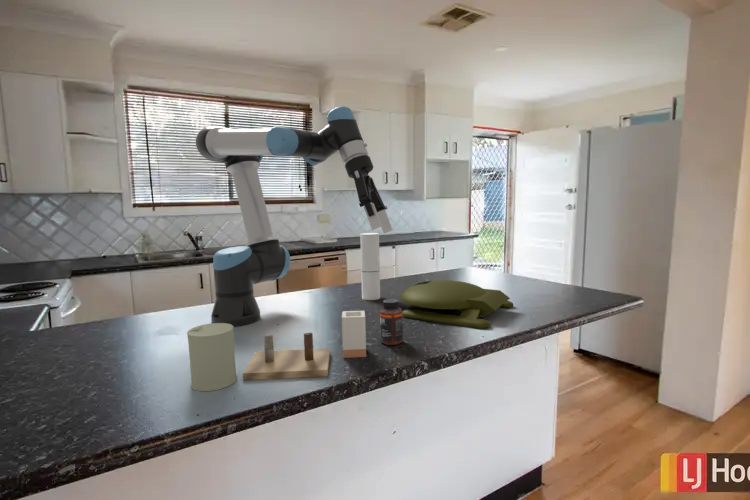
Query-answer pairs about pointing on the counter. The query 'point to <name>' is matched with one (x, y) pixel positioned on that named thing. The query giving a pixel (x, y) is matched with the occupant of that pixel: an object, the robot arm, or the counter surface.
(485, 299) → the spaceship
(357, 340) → the sleeve
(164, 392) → the counter surface
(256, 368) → the pin board
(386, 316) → the supplement bottle
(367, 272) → the cylindrical container
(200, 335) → the can
